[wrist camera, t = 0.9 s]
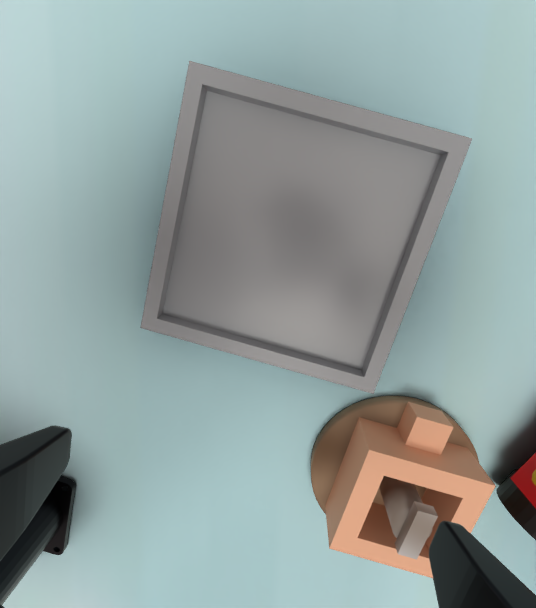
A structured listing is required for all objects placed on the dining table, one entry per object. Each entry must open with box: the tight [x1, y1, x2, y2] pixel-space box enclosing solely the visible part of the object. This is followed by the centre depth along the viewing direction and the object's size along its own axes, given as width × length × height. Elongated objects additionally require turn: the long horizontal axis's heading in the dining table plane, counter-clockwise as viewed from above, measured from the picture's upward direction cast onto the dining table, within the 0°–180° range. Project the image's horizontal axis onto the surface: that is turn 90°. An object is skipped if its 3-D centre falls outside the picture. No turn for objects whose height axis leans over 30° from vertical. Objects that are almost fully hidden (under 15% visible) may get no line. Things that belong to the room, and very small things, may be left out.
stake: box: [311, 396, 479, 559], centre depth 20 cm, size 10×10×5 cm
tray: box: [141, 61, 472, 394], centre depth 19 cm, size 14×14×2 cm
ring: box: [325, 402, 495, 578], centre depth 20 cm, size 8×7×3 cm
